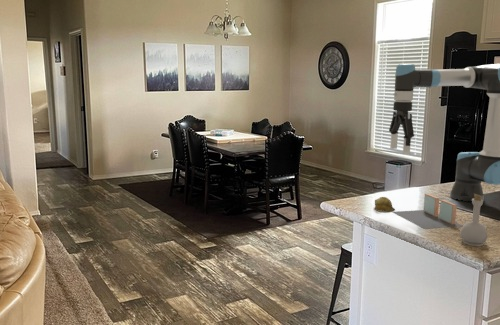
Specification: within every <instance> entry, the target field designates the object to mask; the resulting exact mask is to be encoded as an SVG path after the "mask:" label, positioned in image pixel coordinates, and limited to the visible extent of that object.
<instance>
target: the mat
mask: <svg viewBox="0 0 500 325" xmlns="http://www.w3.org/2000/svg"><path fill="white" fill-rule="evenodd" d="M423 210H424V209H419V210H417V209H416V210H403V211H402V210H401V211H400V210H398V211H392V213H393V214H395V215H396V216H399V217H400V218H403V219H405V221H408V222H410V223H412V224H414V225H416V226H418V227H419V228H421V229H424V230H429V229H431V230H432V229H443V228H444V229H446V228H448V229H449V228H462V227H463V225H464V224H461V223H460V222H456V221H455V224H450V223H447V222H445V221H443V220H441V219H439V215H440V213H438V216H436V217H434V216H432V215H430V214H428V213H426V212H424V211H423Z"/></svg>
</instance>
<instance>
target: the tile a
mask: <svg viewBox="0 0 500 325" xmlns="http://www.w3.org/2000/svg"><path fill="white" fill-rule="evenodd" d="M423 200H424V201H423V209H422V210H423V211H424V212H426V213H428V214H430V215H432V216H434V217H436V216H438V214H439V210H440V197H438V196H436V195H432V194H430V193H424V199H423Z"/></svg>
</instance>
